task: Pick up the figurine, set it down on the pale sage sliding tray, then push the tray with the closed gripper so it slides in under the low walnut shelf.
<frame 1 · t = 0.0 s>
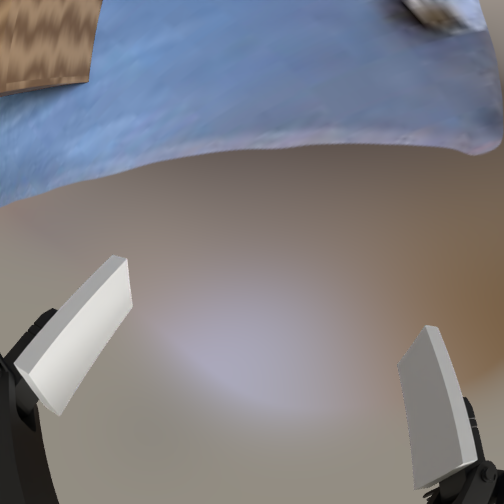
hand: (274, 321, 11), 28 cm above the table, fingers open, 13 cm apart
shelf: (62, 41, 29), on the table
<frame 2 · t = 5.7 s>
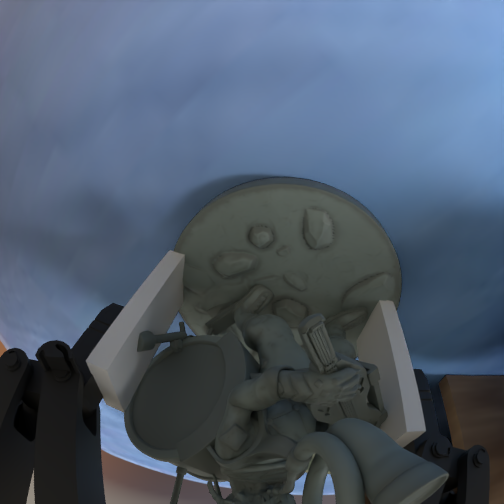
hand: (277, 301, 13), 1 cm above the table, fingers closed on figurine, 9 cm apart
shelf: (451, 427, 19), on the table
figurine: (284, 286, 14), on the table, touching gripper
tray: (309, 437, 19), point 1 cm above the table, slide at 0.0 cm
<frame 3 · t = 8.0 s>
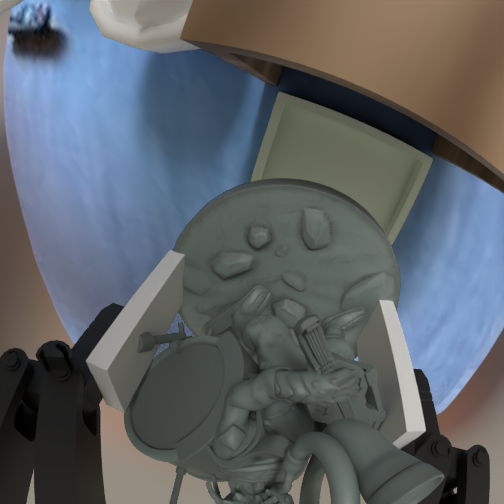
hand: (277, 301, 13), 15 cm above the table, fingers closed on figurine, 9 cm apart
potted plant: (204, 10, 18), on the table
shelf: (385, 39, 17), on the table
figurine: (283, 287, 14), point 14 cm above the table, touching gripper
tray: (331, 195, 24), point 1 cm above the table, slide at 0.0 cm
when the fingers open (4 cm above the table, at t = 10.5 s): figurine drops 2 cm, resting on tray.
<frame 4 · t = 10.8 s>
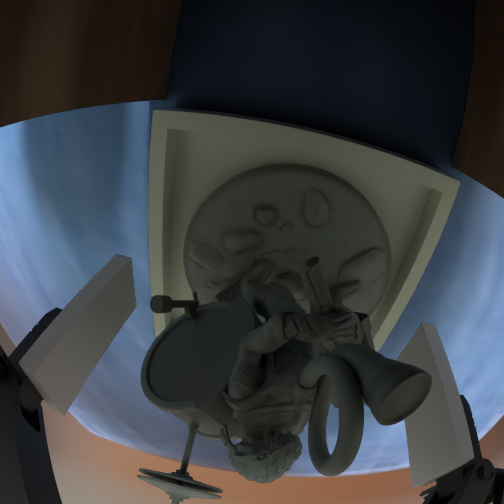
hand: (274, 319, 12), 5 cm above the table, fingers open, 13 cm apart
figurine: (286, 263, 15), point 1 cm above the table, touching tray
tray: (282, 266, 15), point 1 cm above the table, slide at 0.1 cm, touching figurine
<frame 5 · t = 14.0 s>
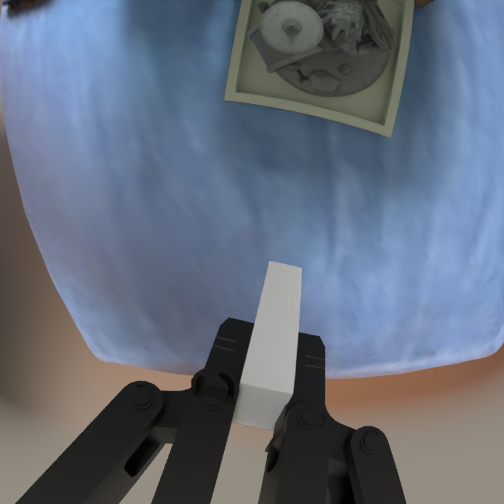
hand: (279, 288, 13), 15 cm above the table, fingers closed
figurine: (324, 40, 18), point 1 cm above the table, touching tray
tray: (323, 39, 18), point 1 cm above the table, slide at 0.2 cm, touching figurine
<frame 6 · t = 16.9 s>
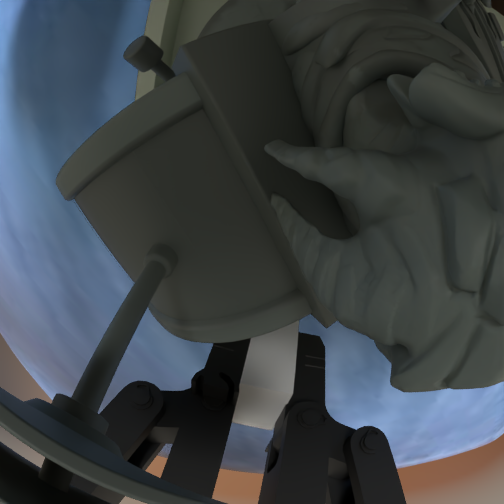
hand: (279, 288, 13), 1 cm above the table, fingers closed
figurine: (328, 100, 9), point 1 cm above the table, touching tray
tray: (325, 100, 9), point 1 cm above the table, slide at 0.8 cm, touching figurine, gripper
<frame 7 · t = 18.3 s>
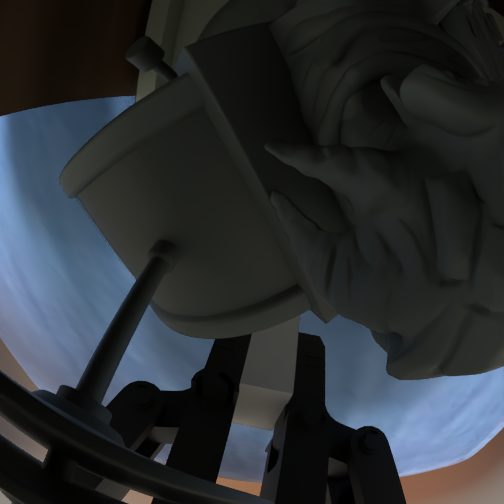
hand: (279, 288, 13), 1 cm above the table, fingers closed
figurine: (328, 100, 9), point 1 cm above the table, touching tray
tray: (325, 100, 9), point 1 cm above the table, slide at 8.2 cm, touching figurine
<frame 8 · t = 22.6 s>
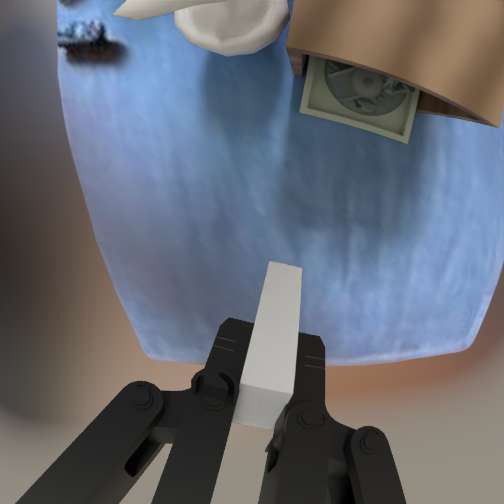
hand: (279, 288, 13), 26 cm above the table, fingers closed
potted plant: (243, 26, 28), on the table
shelf: (370, 37, 25), on the table
figurine: (365, 75, 28), point 1 cm above the table, touching tray
tray: (365, 75, 27), point 1 cm above the table, slide at 9.7 cm, touching figurine
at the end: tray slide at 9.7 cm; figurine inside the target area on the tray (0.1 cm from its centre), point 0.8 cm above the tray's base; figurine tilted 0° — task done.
